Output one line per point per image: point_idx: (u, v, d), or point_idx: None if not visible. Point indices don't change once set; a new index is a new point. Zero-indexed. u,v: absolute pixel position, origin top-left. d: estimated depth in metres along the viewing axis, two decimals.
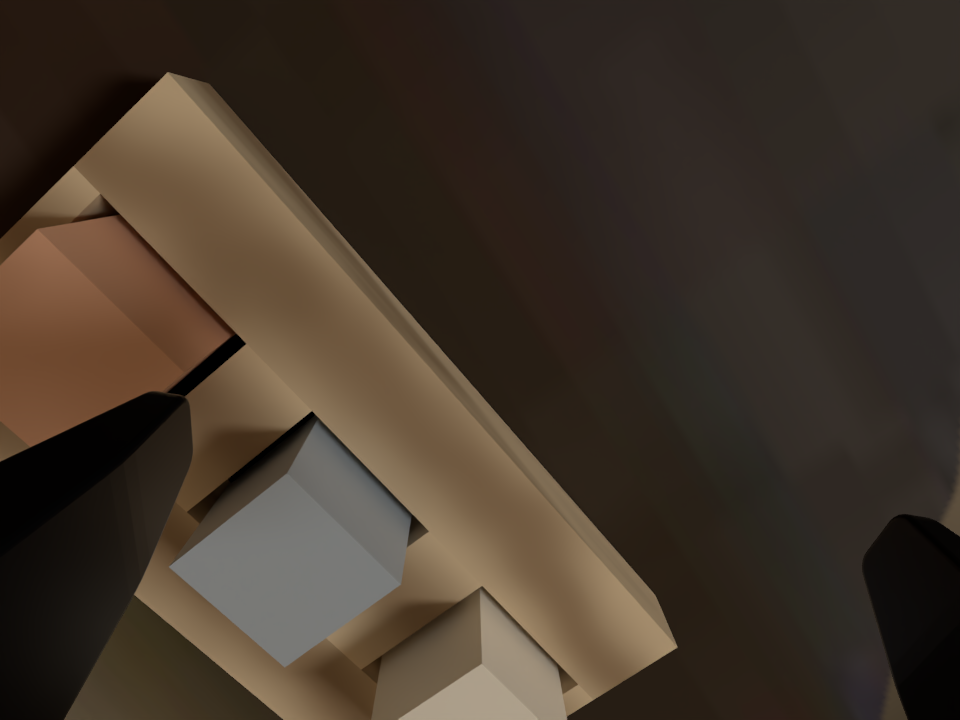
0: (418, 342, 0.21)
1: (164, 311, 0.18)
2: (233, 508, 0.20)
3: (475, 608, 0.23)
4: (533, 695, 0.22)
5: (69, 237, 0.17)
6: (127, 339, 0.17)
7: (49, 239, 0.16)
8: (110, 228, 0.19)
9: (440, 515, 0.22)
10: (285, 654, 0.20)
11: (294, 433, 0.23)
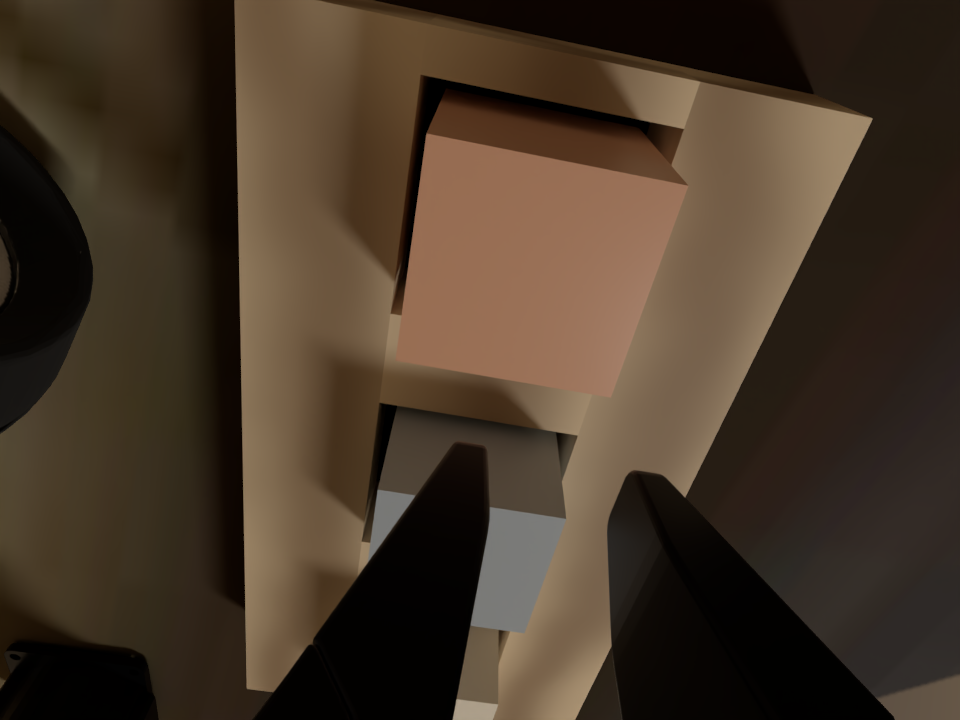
0: None
1: None
2: None
3: (493, 630, 0.24)
4: None
5: None
6: (611, 334, 0.14)
7: (681, 203, 0.12)
8: None
9: (554, 565, 0.22)
10: None
11: None
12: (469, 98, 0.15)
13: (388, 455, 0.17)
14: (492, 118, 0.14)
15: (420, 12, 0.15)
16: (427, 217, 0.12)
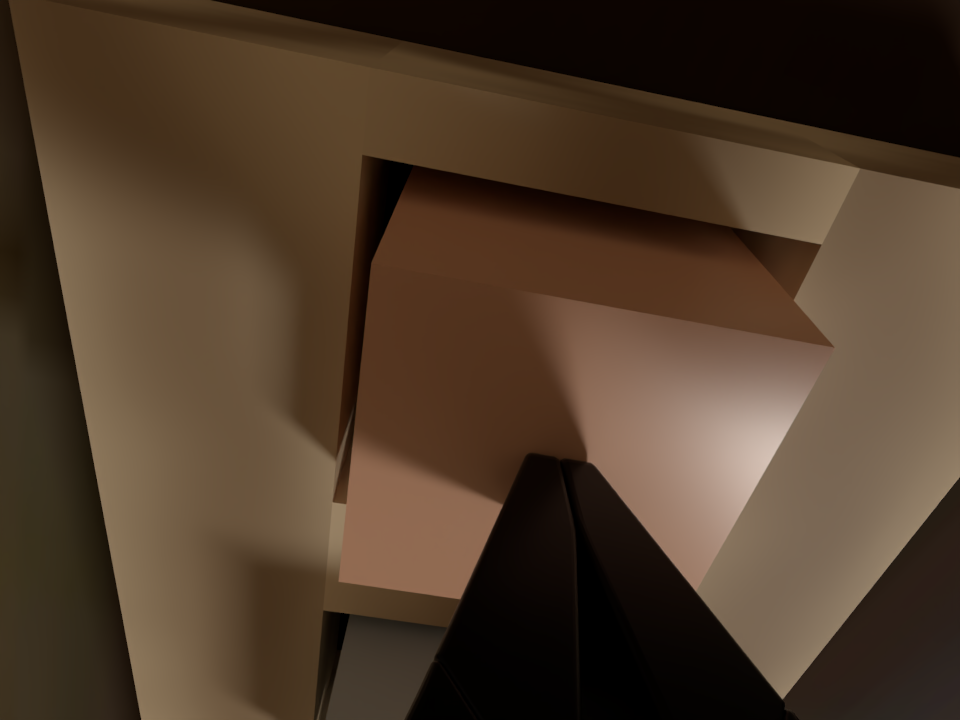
0: None
1: None
2: None
3: None
4: None
5: None
6: (682, 552, 0.09)
7: (817, 373, 0.07)
8: None
9: None
10: None
11: None
12: None
13: (331, 710, 0.11)
14: (490, 206, 0.09)
15: (371, 39, 0.09)
16: (378, 390, 0.07)
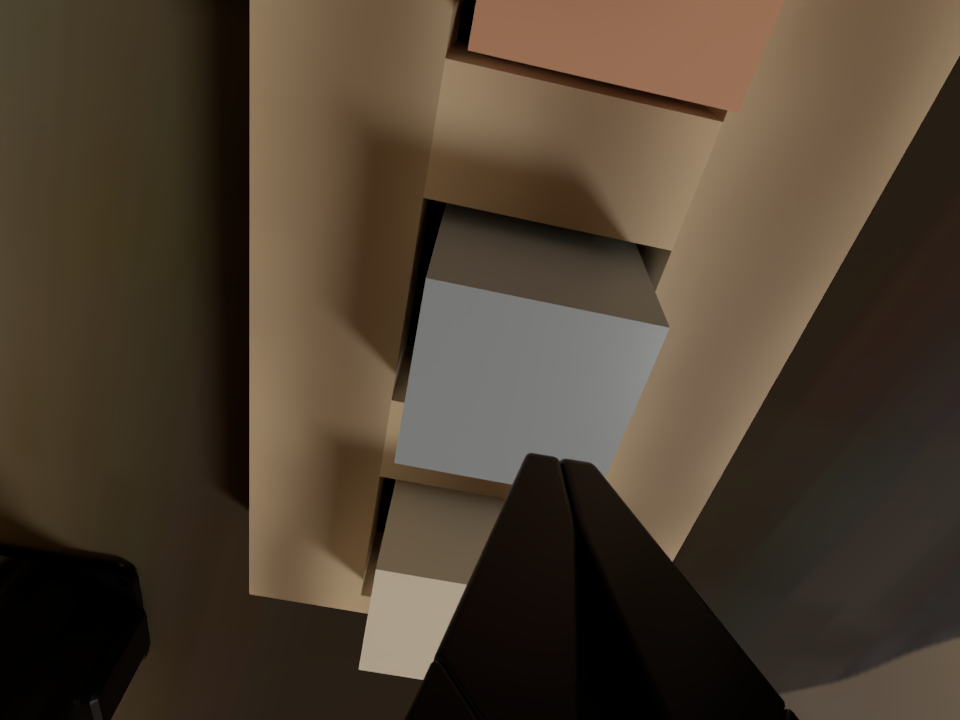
0: None
1: None
2: (541, 283, 0.13)
3: None
4: None
5: None
6: (752, 7, 0.11)
7: None
8: None
9: (623, 437, 0.18)
10: (412, 455, 0.15)
11: None
12: None
13: (436, 251, 0.14)
14: None
15: None
16: None
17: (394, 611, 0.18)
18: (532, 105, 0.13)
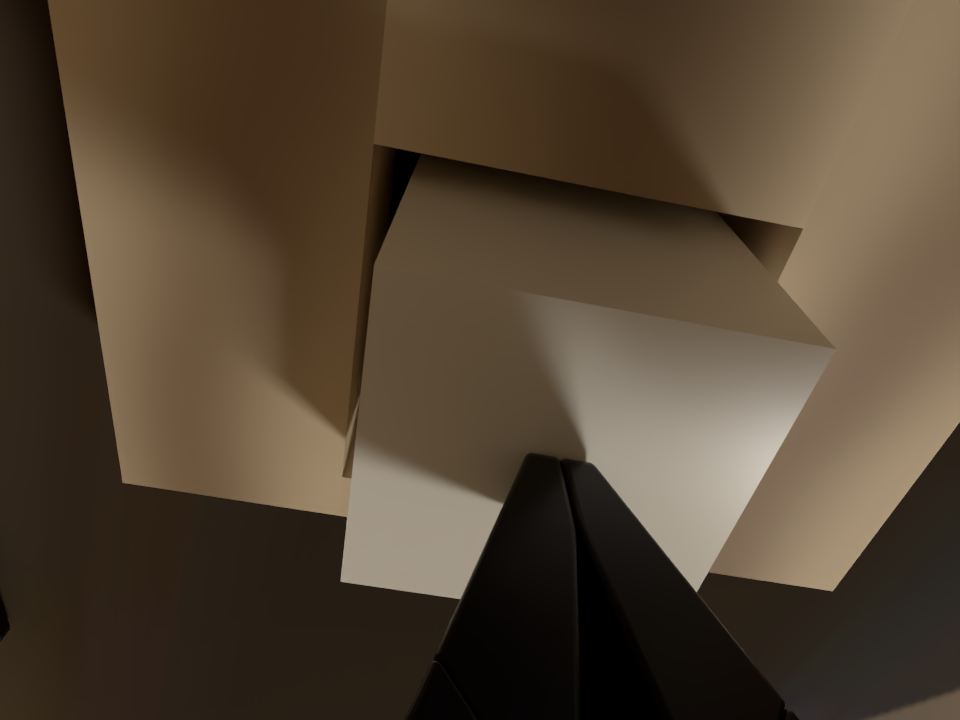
0: None
1: None
2: None
3: (736, 248, 0.09)
4: None
5: None
6: None
7: None
8: None
9: None
10: None
11: None
12: None
13: None
14: None
15: None
16: None
17: (423, 411, 0.07)
18: None
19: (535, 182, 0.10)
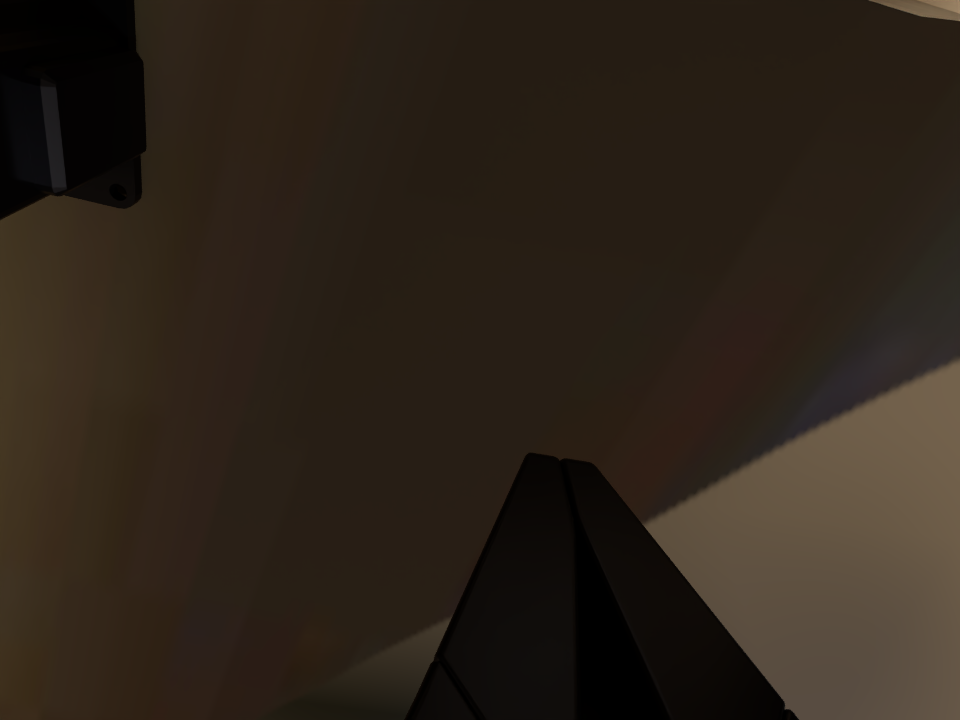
0: None
1: None
2: None
3: None
4: None
5: None
6: None
7: None
8: None
9: None
10: None
11: None
12: None
13: None
14: None
15: None
16: None
17: None
18: None
19: None
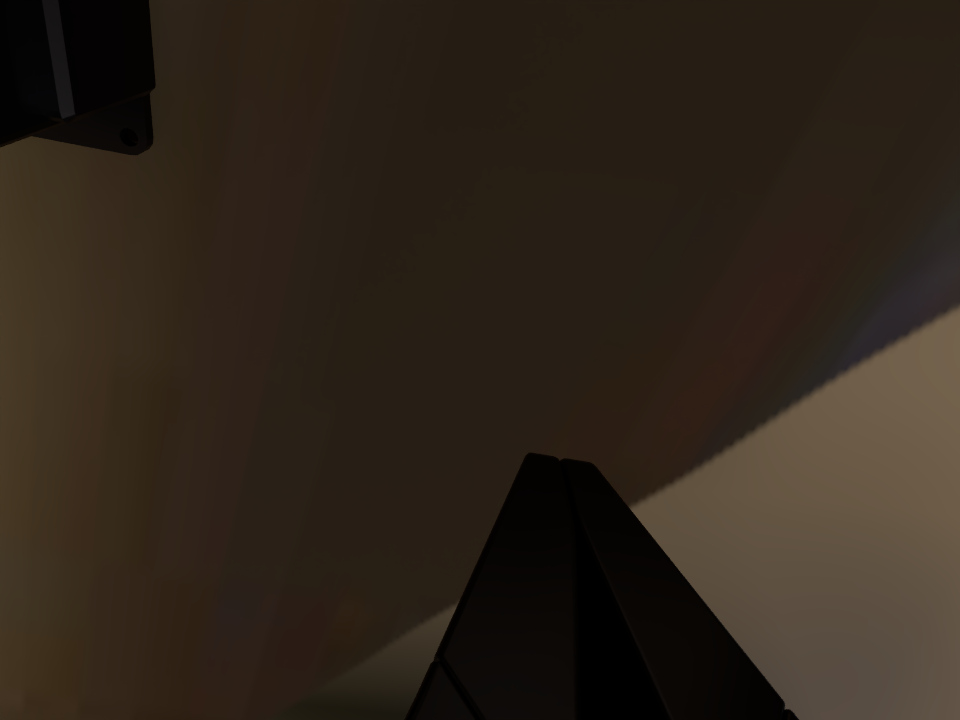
0: None
1: None
2: None
3: None
4: None
5: None
6: None
7: None
8: None
9: None
10: None
11: None
12: None
13: None
14: None
15: None
16: None
17: None
18: None
19: None
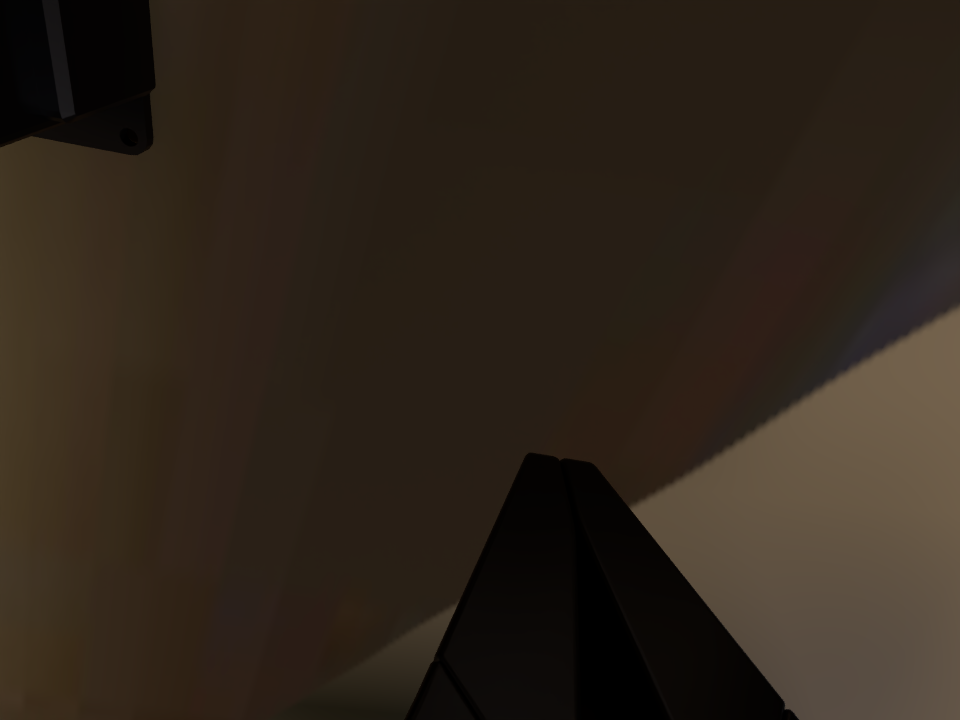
0: None
1: None
2: None
3: None
4: None
5: None
6: None
7: None
8: None
9: None
10: None
11: None
12: None
13: None
14: None
15: None
16: None
17: None
18: None
19: None
